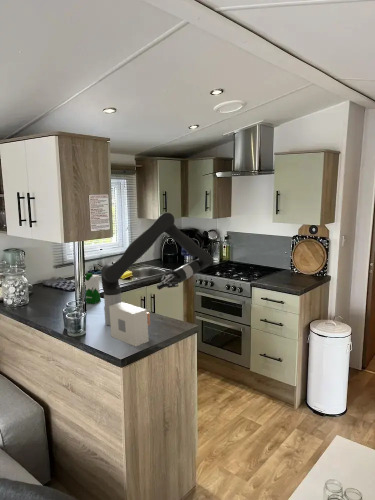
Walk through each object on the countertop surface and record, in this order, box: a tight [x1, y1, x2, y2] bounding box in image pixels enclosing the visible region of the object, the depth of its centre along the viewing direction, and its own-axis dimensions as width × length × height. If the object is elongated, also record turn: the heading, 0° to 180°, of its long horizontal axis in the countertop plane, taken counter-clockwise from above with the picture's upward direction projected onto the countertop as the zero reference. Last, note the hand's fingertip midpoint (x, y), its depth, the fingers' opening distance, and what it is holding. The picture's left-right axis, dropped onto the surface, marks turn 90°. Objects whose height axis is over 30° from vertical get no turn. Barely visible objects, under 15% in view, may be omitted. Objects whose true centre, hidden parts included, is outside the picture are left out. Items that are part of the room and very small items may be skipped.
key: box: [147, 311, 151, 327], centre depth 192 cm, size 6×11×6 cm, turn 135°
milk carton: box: [84, 272, 101, 305], centre depth 253 cm, size 9×9×20 cm
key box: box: [109, 301, 150, 347], centre depth 188 cm, size 20×8×16 cm, turn 45°
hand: (157, 287), depth 201 cm, fingers closed
